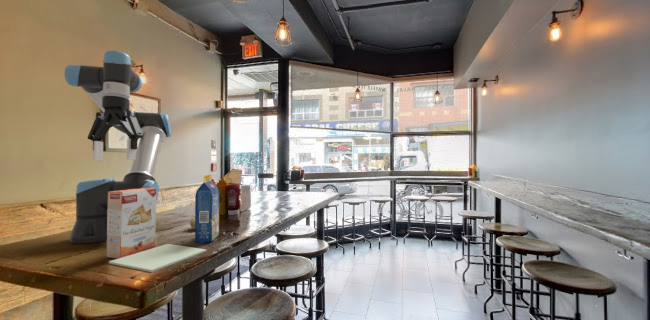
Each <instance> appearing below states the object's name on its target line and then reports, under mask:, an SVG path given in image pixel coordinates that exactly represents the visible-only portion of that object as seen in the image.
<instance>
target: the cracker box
mask: <svg viewBox="0 0 650 320" xmlns="http://www.w3.org/2000/svg"><path fill="white" fill-rule="evenodd" d="M156 210H157V201H156V189H154V188H140V189H128V190H120V191H110V192H108V210H107V240H106V258H108V259H119V258H122V257H125V256H129V255H132V254H135V253H139V252H142V251H145V250H149V249H152V248H155V247H156V220H157V219H156V217H157V213H156V212H157V211H156Z"/></svg>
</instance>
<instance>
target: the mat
mask: <svg viewBox="0 0 650 320" xmlns="http://www.w3.org/2000/svg"><path fill="white" fill-rule="evenodd" d="M207 250H208V249H205V248H198V247H191V246H185V245H178V244H171V243H165V244H163V245H159V246H155V247H153V248H150V249H147V250H144V251H141V252H139V253H135V254H132V255H129V256H125V257H122V258H119V259H117V258H114V259H112V260H108V264H109V265H113V266H114V265H115V266H119V267H122V268H123V267H124V268H128V269H134V270H138V271H143V272H149V273H153V272H156V271H158V270H162V269H164V268H167V267H170V266H171V265H174V264H177V263H180V262H182V261H183V262H184V261H185V260H187V259H190V258H193V257H196V256H198V255H200V254H204V253H205V252H208V251H207Z"/></svg>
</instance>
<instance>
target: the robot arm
mask: <svg viewBox="0 0 650 320" xmlns="http://www.w3.org/2000/svg"><path fill="white" fill-rule="evenodd" d="M131 60H132V59H131V56H130V55H128V54H127V53H125V52H123V51H119V50H106V51H105V52H104V55H103V60H102V63H103V65H102V66H94V65H84V64H68V65H66V66H65V68H64V74H63V75H64V78H65V81H66V83H67V84H68V85H69V86H72V87H76V88H78V87H80V88H81V89H82V90H83V91H84V92H85V93H86V94H87V95H88V96H89V97H90V98H91V100H92V101H93V102H94V104H96V105H97V107H98V108H99V109H100V110H101V112H99V111H97V112H96V113H95V119H94V121H93V123H92V126H91V128H90V130H89V133H88V135H87V140H90V141H92V151H93V153H92V154H93V157H92V158H93V159H92V160H93V161H95V162H96V161H99V162H101V161H104V141H103V139H104V138H105V136H106V135H107V133H108V132H109V130H110V129H111V128H112V127H113V128H114V129H115V130H117V131H119V132H121V133H123V134H126V135H127V139H126V140H127V141H126V160H133V161H132V165H131V168H130V171H129V172H128V173H127V174H125V175H124V177H123V179H122V180H121V181H120V180H119V181H115V180H116V179H115V178H114V177H109V178H108V177H107V178H101V179H94V180H93V179H91V180H85V181H84V180H83V181H80V182H78V183H77V185H76V189H75V190H76V193H75V213H76V214H75V222H74V224H73V227H72V230H71V233H70V234H69V243H71V244H81V245H82V244H92V243H101V242H107V210H108V192H110V191H120V190H128V189H140V188H154V189H156V202H157V201H158V197H159V191H160V185H159V183H158V181H156V178H155V177H154V174H155V169H156V165H157V162H158V161H157V160H158V157H159V152H160V148H161V145H162V143H164V142H165V140H166V138H170V137H171V136H172V128H171V127H172V125H171V120H170V116H169V114H167V113H160V112H156V113H155V112H137V111H135V110H131V109H130V100H129V99H130V97H131V93H136V92H138V91H140V90H141V88H142V86H143V82H142V81H143V80H142V79H141V78H140V76H139V74H138V73H137V72H136V71H134V69H133V68H132V67H131V66H132V63H131ZM138 140H139V142H138Z"/></svg>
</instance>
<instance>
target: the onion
mask: <svg viewBox="0 0 650 320" xmlns="http://www.w3.org/2000/svg"><path fill="white" fill-rule="evenodd" d="M189 226H190V227H191V229H193V230H194V231H195V216H193V217H192V218H191V219H190V221H189Z"/></svg>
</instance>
